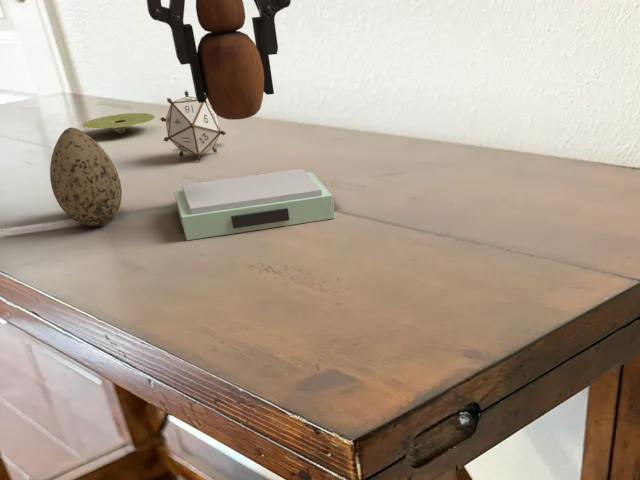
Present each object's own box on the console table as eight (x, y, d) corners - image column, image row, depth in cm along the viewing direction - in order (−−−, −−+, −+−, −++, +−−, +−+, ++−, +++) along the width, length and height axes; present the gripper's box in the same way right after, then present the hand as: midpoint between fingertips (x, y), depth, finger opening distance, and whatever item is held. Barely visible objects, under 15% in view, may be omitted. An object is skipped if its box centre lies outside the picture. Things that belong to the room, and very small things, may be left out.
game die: (196, 188, 115) (144, 136, 107) (190, 153, 120) (139, 100, 112) (245, 151, 113) (195, 94, 105) (237, 116, 117) (188, 59, 109)
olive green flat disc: (72, 136, 131) (68, 123, 130) (131, 122, 137) (128, 110, 136) (111, 144, 125) (107, 130, 123) (171, 129, 131) (168, 115, 130)
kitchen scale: (187, 241, 85) (180, 211, 83) (178, 212, 93) (172, 185, 92) (335, 219, 88) (332, 190, 86) (314, 193, 97) (310, 166, 95)
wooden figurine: (199, 117, 86) (165, -60, 76) (248, 107, 88) (221, -64, 79) (226, 125, 81) (194, -61, 72) (277, 115, 84) (252, -66, 74)
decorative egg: (56, 225, 92) (26, 129, 86) (117, 211, 95) (92, 117, 89) (77, 240, 87) (46, 139, 81) (140, 224, 90) (115, 126, 84)
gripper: (66, -208, 64) (141, 114, 79) (302, -219, 68) (333, 90, 82) (68, -197, 70) (138, 101, 84) (286, -207, 74) (318, 80, 88)
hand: (235, 95), depth 83 cm, fingers closed on wooden figurine, 6 cm apart
